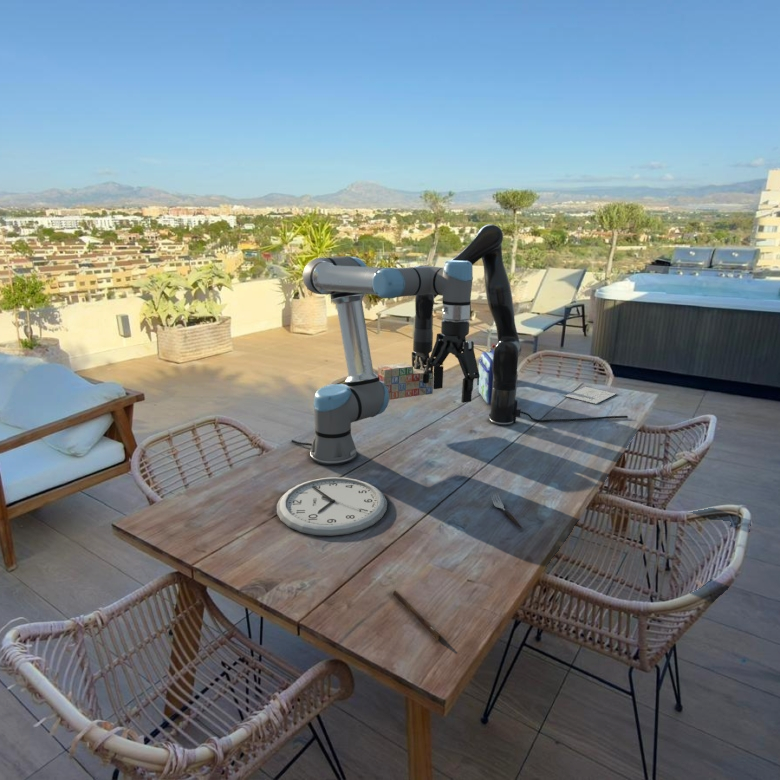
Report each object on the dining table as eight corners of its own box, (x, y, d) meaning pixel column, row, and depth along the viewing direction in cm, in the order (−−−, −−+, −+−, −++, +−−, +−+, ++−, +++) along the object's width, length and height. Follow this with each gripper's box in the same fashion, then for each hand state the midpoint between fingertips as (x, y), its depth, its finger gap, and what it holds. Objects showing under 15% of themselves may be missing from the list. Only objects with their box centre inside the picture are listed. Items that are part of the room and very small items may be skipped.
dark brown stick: (392, 594, 108) (393, 590, 108) (394, 593, 109) (394, 589, 108) (438, 640, 96) (438, 636, 96) (440, 639, 97) (440, 635, 96)
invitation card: (585, 386, 254) (616, 393, 244) (585, 387, 254) (616, 394, 244) (564, 395, 239) (596, 403, 229) (564, 396, 239) (596, 404, 229)
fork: (516, 530, 132) (517, 523, 131) (489, 500, 147) (489, 493, 146) (526, 529, 133) (526, 522, 132) (497, 499, 147) (498, 492, 147)
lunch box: (475, 390, 246) (478, 346, 240) (498, 390, 246) (501, 347, 240) (484, 408, 221) (487, 360, 215) (509, 409, 221) (513, 360, 215)
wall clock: (392, 527, 129) (268, 531, 127) (391, 533, 130) (269, 537, 127) (383, 473, 158) (282, 475, 155) (383, 478, 158) (282, 480, 156)
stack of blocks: (425, 389, 213) (426, 360, 209) (432, 394, 207) (434, 364, 204) (377, 395, 204) (377, 365, 200) (383, 400, 198) (384, 369, 195)
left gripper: (419, 313, 149) (416, 384, 156) (473, 328, 129) (468, 410, 135) (440, 312, 153) (437, 381, 159) (497, 326, 132) (490, 405, 138)
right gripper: (405, 336, 207) (404, 377, 212) (423, 343, 194) (422, 386, 199) (422, 335, 210) (421, 375, 215) (440, 342, 197) (439, 384, 202)
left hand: (451, 394), depth 147 cm, fingers open, 13 cm apart
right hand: (421, 380), depth 207 cm, fingers closed on stack of blocks, 6 cm apart
